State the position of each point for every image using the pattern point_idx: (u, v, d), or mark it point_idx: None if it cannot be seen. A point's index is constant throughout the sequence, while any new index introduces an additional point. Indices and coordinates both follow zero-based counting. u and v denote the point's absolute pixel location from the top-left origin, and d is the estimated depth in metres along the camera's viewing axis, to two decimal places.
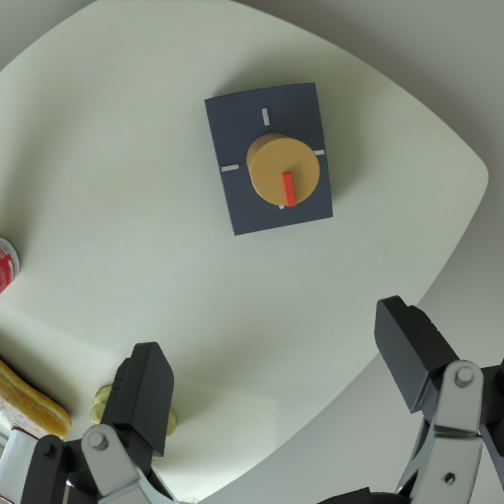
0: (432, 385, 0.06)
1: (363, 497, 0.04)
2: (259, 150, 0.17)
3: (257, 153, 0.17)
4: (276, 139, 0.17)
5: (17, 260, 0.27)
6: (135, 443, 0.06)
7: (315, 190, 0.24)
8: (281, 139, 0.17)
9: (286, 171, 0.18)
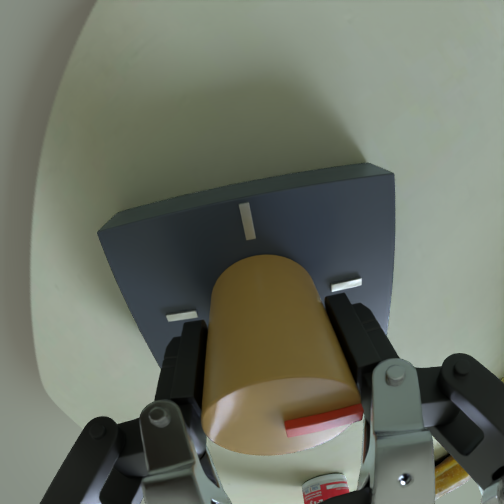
0: (365, 381, 0.07)
1: (363, 497, 0.04)
2: (234, 450, 0.07)
3: (241, 452, 0.08)
4: None
5: (329, 477, 0.28)
6: (194, 418, 0.07)
7: (334, 217, 0.11)
8: (207, 433, 0.07)
9: (281, 424, 0.07)
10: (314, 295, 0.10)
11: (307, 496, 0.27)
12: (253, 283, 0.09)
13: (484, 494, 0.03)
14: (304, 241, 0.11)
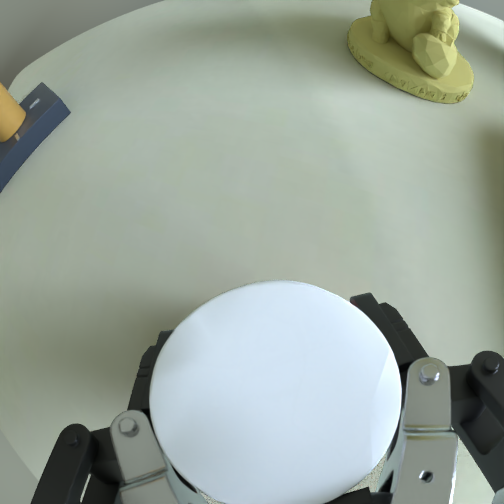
0: None
1: (363, 497, 0.04)
2: None
3: None
4: None
5: None
6: None
7: (27, 99, 0.23)
8: None
9: None
10: None
11: None
12: None
13: (496, 495, 0.03)
14: None
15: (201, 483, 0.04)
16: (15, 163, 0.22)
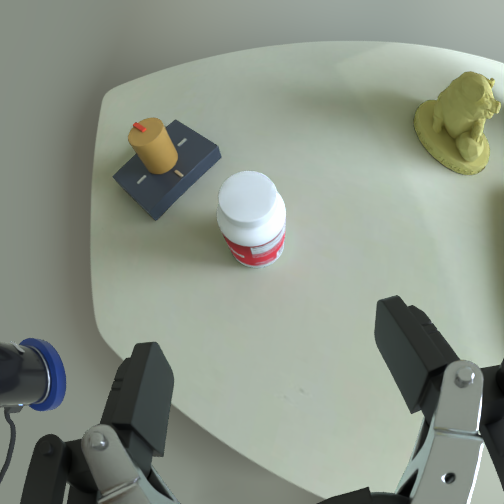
0: (432, 385, 0.06)
1: (363, 497, 0.04)
2: (162, 128, 0.29)
3: (162, 127, 0.29)
4: (157, 137, 0.29)
5: None
6: (135, 443, 0.06)
7: None
8: (155, 138, 0.29)
9: (144, 131, 0.30)
10: None
11: None
12: (144, 164, 0.33)
13: None
14: None
15: (229, 213, 0.22)
16: (176, 195, 0.35)
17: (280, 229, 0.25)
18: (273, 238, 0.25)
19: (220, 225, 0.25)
